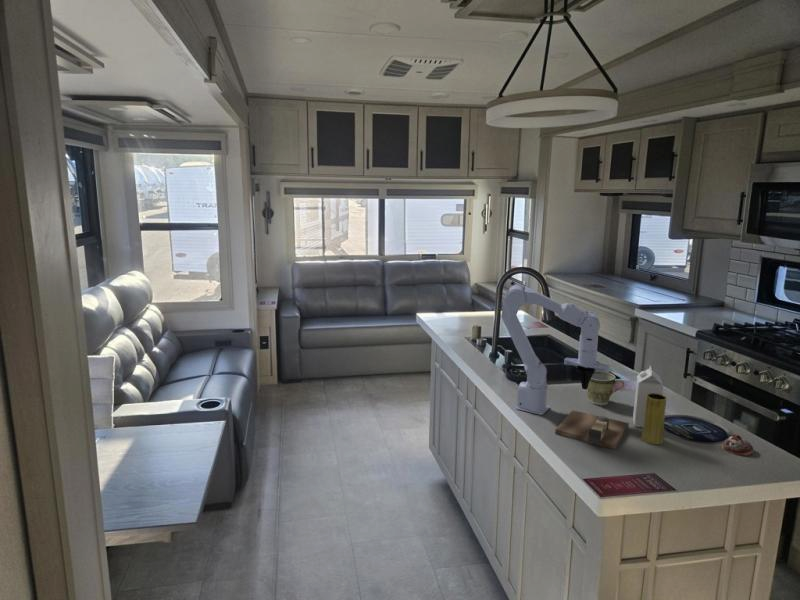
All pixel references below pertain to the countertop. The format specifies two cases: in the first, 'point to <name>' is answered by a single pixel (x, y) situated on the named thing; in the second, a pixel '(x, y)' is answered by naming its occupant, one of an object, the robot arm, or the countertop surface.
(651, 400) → the vase
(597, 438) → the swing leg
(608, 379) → the ceramic cup
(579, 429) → the wooden board
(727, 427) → the countertop surface
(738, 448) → the pastry
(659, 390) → the milk carton
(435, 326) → the countertop surface
